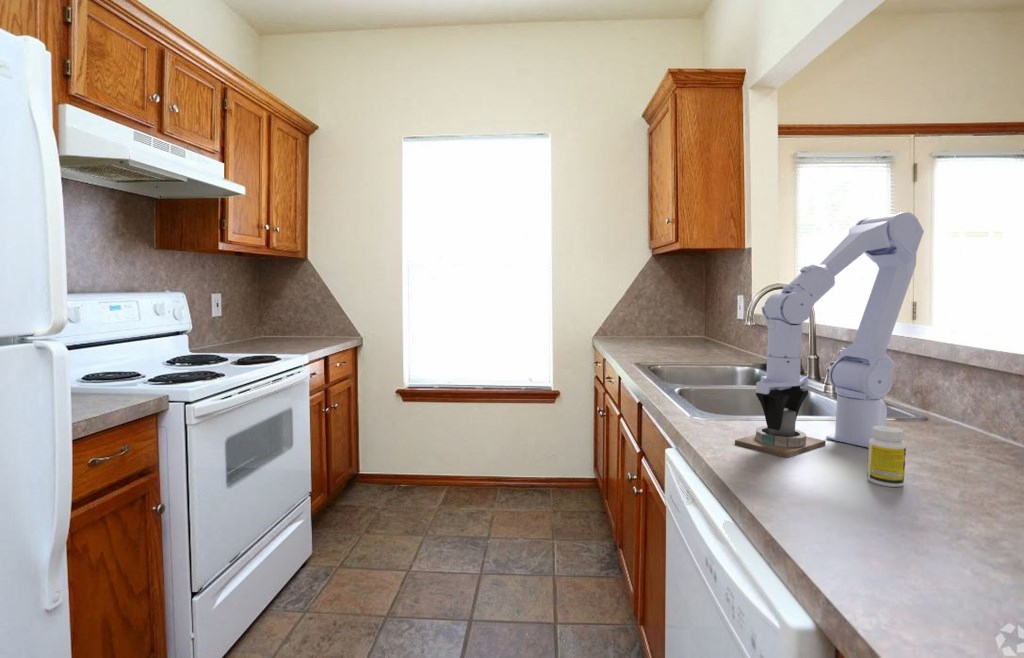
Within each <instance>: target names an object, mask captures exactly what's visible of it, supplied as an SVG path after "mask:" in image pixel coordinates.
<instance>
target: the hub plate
mask: <svg viewBox="0 0 1024 658" xmlns="http://www.w3.org/2000/svg"><path fill="white" fill-rule="evenodd" d="M768 431H769V428H768V427H767V425H765V426H759V427H756V429H755V434H752V435H748V436H744V437H742V438H737V439H734V445H737V446H740V447H745V448H748V449H752V450H755V451H759V452H763V453H767V454H771V455H775V456H779V457H782V458H789V457H792V456H796V455H798V454H802V453H806V452H808V451H811V450H815V449H817V448H820V447H824V446H826V442H827V441H826V440H825V439H820V438H814V437H811V436H807V435H806V433H805V432H803V431H801V430H799V429H795V437H782V436H774V435H770V434H768Z"/></svg>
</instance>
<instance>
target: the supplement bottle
mask: <svg viewBox="0 0 1024 658" xmlns="http://www.w3.org/2000/svg"><path fill="white" fill-rule="evenodd" d="M904 433H905V432H904V430H903V429H902V428H898V427H894V426H887V425H886V426H874V427H873V428H872V436H873V437H874V438H871V439H870V440H869V446H868V447H867V448H868V449H867V451H868V452H867V465H866V479H867V480H868V481H869V482H871V483H872V484H873V483H874V484H875V485H879V486H883V487H888V488H889V487H890V488H891V487H892V488H899V487H902V486H904V484H905V474H906V473H905V471H906V469H905V468H906V456H907V455H906V454H907V445H906V444H905V443H904V442H903V441H904V439H905V437H904V436H905V434H904Z"/></svg>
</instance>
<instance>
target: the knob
mask: <svg viewBox="0 0 1024 658" xmlns="http://www.w3.org/2000/svg"><path fill="white" fill-rule="evenodd" d="M796 421H797V418H796V411H793V410H790V409H788V408H784V411H783V417H782V424H781V427H780V430H774V429H770V428H769V431H768V434H770V435H774V436H782V437H795V430H796Z"/></svg>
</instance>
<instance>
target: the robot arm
mask: <svg viewBox="0 0 1024 658" xmlns="http://www.w3.org/2000/svg"><path fill="white" fill-rule="evenodd" d="M924 231H925V230H924V229H923V226H922V224H921V223H920V221H919V219H918V218H917V216H916V215H915V214H914V213H912V212H909V211H903V212H902V211H901V212H899V213H895V214H888V215H882V216H877V217H864V218H862V219H860V220H859V221H857V223H856V224H855V225H853V226H851V227H850V228H849V231H848V235H847V236H846V237H844V239H843V240H842V241H841V242H839V244H838V245H837V246H836V247H835V248H834V249H833V250H832V251H831V252H830V253H829V254H828V255H827V256H826V257H825V258H824V259H823V260H822V261H821V263H820V264H810V265H806V266H805V265H804V266H803V267H802V268H800V269H799V272H800V273H799V274H798V275H797V276H796V277H795V278H794V279H792V281H791V282H789V284H788V283H786V284H785V285H783V287H782V290H781V292H777V293H773V294H771V295H769V297H768V298H767V299H766V301H765V302H764V305H763V306H762V307H761V313H762V315H763V318H764V319H765V320H766V328H767V350H766V351H767V352H766V354H767V355H766V373H765V374H766V375H764V376H761V377H760V380H759V381H757V382H756V383H755V385H756V387H755V389H756V390H755V396H756V397H757V399H758V401H759V402H760V406H761V408H762V411H763V414H764V418H765V423H766V426H767V427H768V428H770V429H774V430H780V427H781V424H782V417H783V411H784V408H788V409H790V410H793V411H796V419H797V417H798V414H799V412H800V409H801V406H802V404H803V402H804V401H805V400H806V398H807V397H808V395H809V389H808V388H804V387H808V380H809V377H808V376H807V375H806V376H805V375H801V365H802V364H801V361H802V360H801V359H802V343H803V342H802V340H803V338H802V337H803V323H804V322H805V321H807V320H808V319H809V318H810V316H811V313H812V308H813V307H814V306H815V304H816V303H817V302H818V301H819V300H820V299H821V298H822V297H823V296H825V295H826V294H827V293H828V292H829V291H830V290H831V289H833V287H834V286H835V282H836V280H835V279H836V278H835V277H836V276H837V275H838V274H840V273H841V272H842V271H844V270H845V269H846V268H847V267H848V266H850V265H851V264H852V263H853V262H855V261H856V260H857V259H859V258H860V256H862V255H864V254H865V256H867V257H868V258H869V259H870V260H871V261H872V262H873V263H875V264H876V266H877V267H878V272H877V274H876V277H875V279H874V283H873V285H872V289H871V291H870V293H869V297H868V300H867V302H866V306H865V308H864V312H863V314H862V316H861V320H860V323H859V326H858V329H857V331H856V334H855V338H854V340H853V343H852V344H850V345H849V346H846V348H844V349H842V350H841V351H839V354H838V357H837V359H836V360H835V361H834V362H833V363H832V365H831V366H830V368H829V370H828V380H829V383H830V384H831V386H832V387H833V388H834V393H836V410H835V411H836V413H835V431H834V433H831V434H829V435H826V436H825V438H826V439H827V440H833V441H836V442H841V443H846V444H849V445H855V446H859V447H864V448H868V446H869V440H870V439H871V438H874V437H873V436H872V428H873V427H874V426H887V414H888V413H887V412H888V409H887V408H888V407H887V405H886V403H885V401H884V399H885V396H886V395H887V394H889V392H890V391H891V390H892V386H893V381H894V379H893V372H894V371H893V370H894V368H895V365H896V364H895V361H893V360H892V358H891V357H890V356H889V354H888V353H887V349H888V346H889V344H890V343H889V342H890V340H891V337H892V334H893V331H894V329H895V327H896V323H897V320H898V318H899V314H900V312H901V309H902V305H903V303H904V300H905V298H906V295H907V292H908V289H909V285H910V283H911V280H912V277H913V275H914V272H915V268H916V266H917V252H918V249H919V247H920V244H921V241H922V238H923V235H924ZM801 387H803V388H801Z"/></svg>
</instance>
